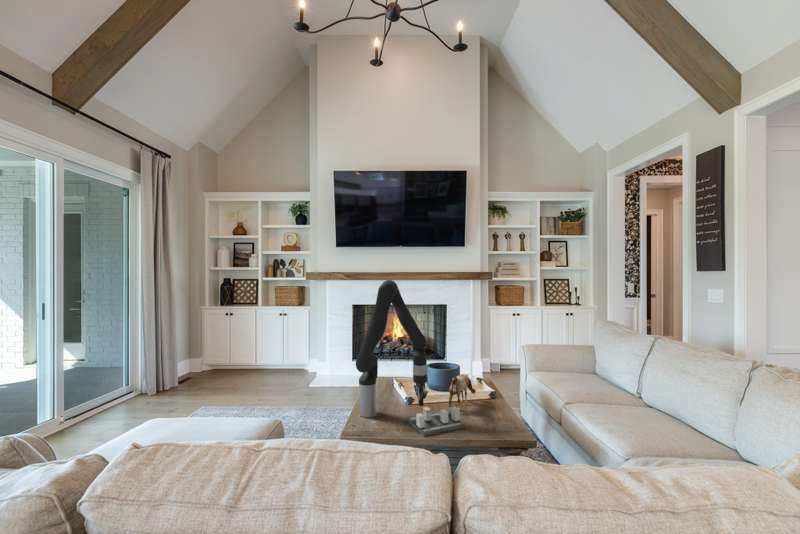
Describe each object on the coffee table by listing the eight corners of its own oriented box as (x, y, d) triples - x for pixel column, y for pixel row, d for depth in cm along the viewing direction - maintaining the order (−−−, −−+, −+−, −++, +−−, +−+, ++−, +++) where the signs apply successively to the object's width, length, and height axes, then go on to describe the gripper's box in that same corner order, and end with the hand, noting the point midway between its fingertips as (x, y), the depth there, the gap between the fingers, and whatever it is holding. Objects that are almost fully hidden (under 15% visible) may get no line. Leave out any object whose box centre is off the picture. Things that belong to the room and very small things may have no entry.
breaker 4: (451, 418, 207) (451, 407, 207) (455, 417, 208) (455, 406, 207) (455, 421, 203) (455, 410, 203) (459, 420, 204) (459, 409, 204)
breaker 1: (416, 425, 199) (416, 413, 199) (421, 424, 200) (420, 413, 200) (419, 428, 196) (419, 416, 196) (424, 427, 197) (424, 416, 196)
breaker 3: (440, 420, 204) (439, 409, 204) (444, 419, 205) (444, 408, 205) (443, 423, 201) (443, 412, 200) (448, 422, 202) (448, 411, 201)
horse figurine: (456, 418, 212) (455, 379, 211) (442, 416, 216) (441, 377, 215) (476, 399, 239) (476, 365, 238) (464, 397, 242) (463, 363, 242)
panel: (407, 422, 209) (407, 418, 209) (446, 414, 217) (446, 411, 217) (422, 436, 192) (422, 432, 192) (464, 428, 200) (464, 423, 200)
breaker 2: (423, 418, 207) (422, 407, 207) (427, 417, 208) (427, 406, 208) (426, 421, 204) (426, 410, 203) (431, 420, 205) (431, 409, 204)
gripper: (408, 370, 217) (409, 402, 217) (418, 377, 204) (419, 411, 205) (421, 368, 219) (422, 400, 220) (432, 375, 207) (433, 408, 207)
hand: (421, 405), depth 212 cm, fingers closed
